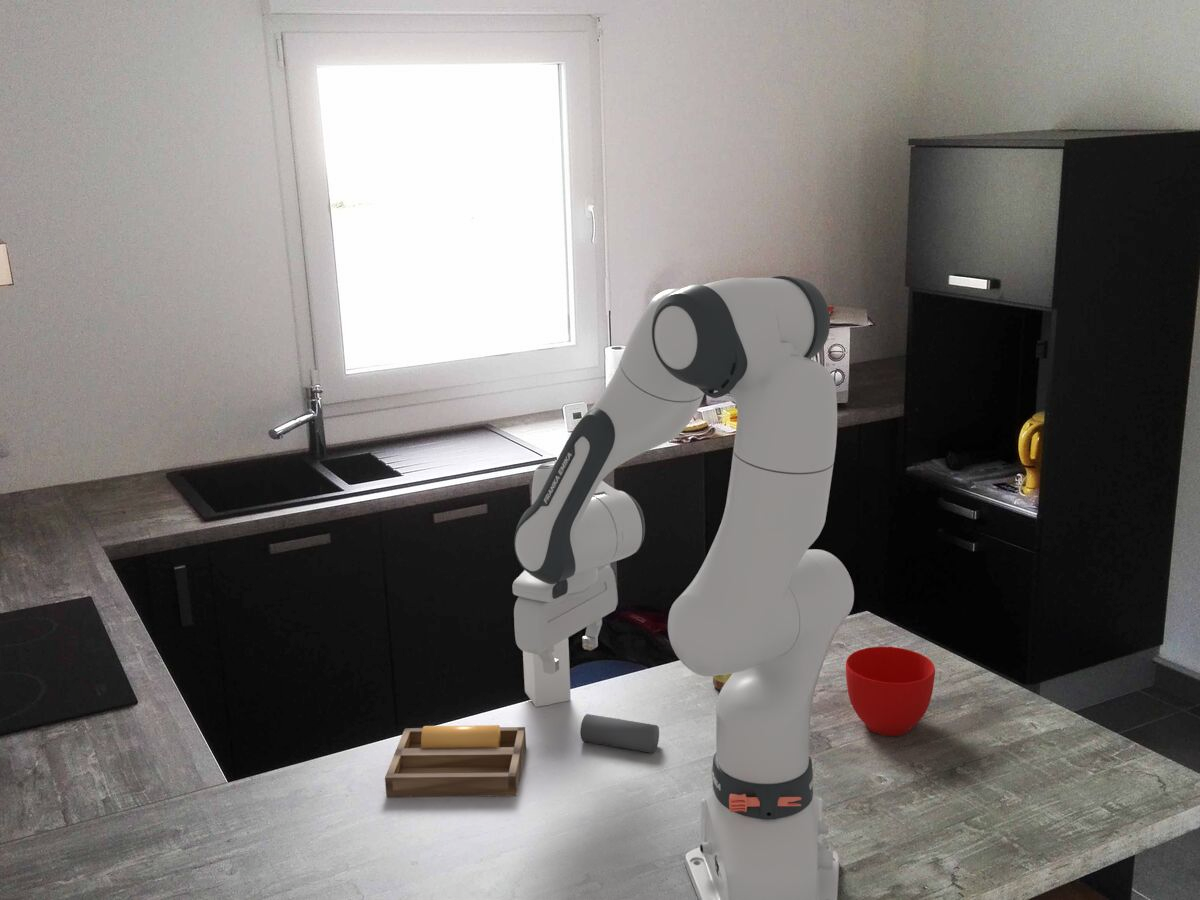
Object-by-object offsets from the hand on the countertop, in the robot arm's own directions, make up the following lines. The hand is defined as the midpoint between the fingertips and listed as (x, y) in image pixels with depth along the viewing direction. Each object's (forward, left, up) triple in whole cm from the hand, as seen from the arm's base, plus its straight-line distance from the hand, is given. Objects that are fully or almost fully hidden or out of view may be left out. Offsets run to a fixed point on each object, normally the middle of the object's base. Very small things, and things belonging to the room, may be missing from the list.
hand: (571, 659), depth 168 cm
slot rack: (-6, +16, -14) cm, 23 cm away
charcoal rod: (+1, -7, -15) cm, 16 cm away
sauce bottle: (+20, -25, -15) cm, 35 cm away
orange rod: (-1, +16, -13) cm, 21 cm away
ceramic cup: (+8, -48, -15) cm, 51 cm away
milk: (+17, +5, -15) cm, 23 cm away
